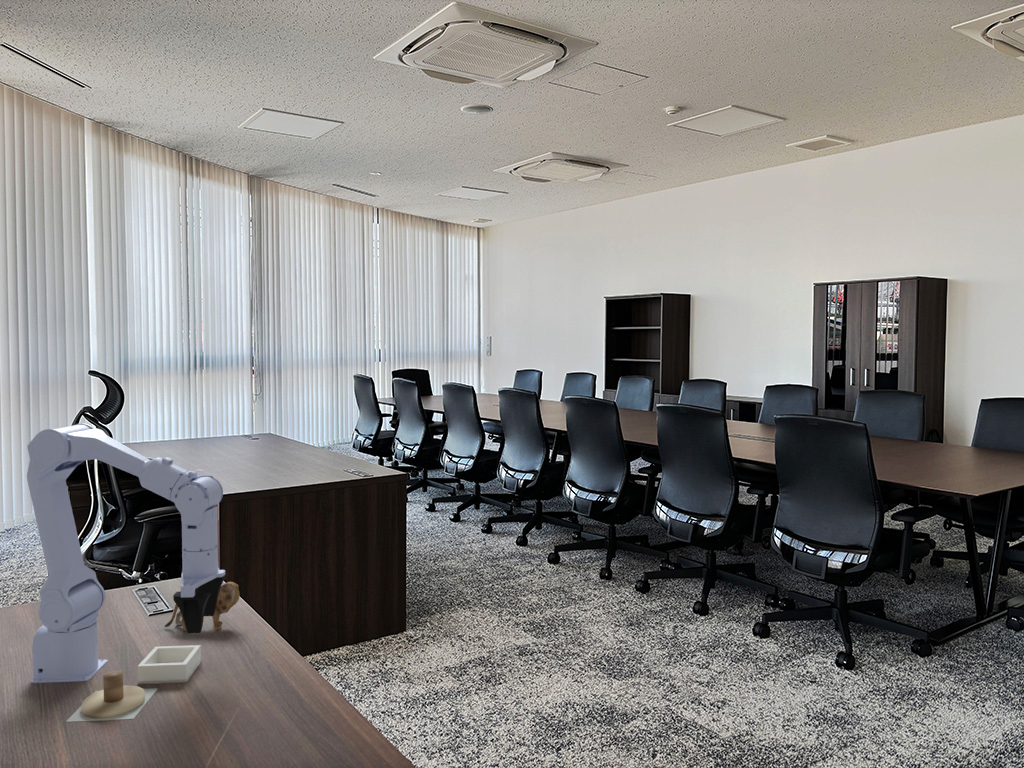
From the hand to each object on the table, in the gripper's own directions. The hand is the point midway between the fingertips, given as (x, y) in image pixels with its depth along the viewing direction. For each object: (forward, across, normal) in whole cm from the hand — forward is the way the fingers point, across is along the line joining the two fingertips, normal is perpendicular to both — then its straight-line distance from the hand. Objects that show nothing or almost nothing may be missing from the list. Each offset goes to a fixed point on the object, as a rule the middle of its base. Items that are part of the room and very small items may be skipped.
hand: (201, 623), depth 128 cm
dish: (+10, +2, +6) cm, 12 cm away
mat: (+10, -9, +11) cm, 17 cm away
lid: (+9, -9, +11) cm, 17 cm away
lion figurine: (+10, +24, +6) cm, 27 cm away
